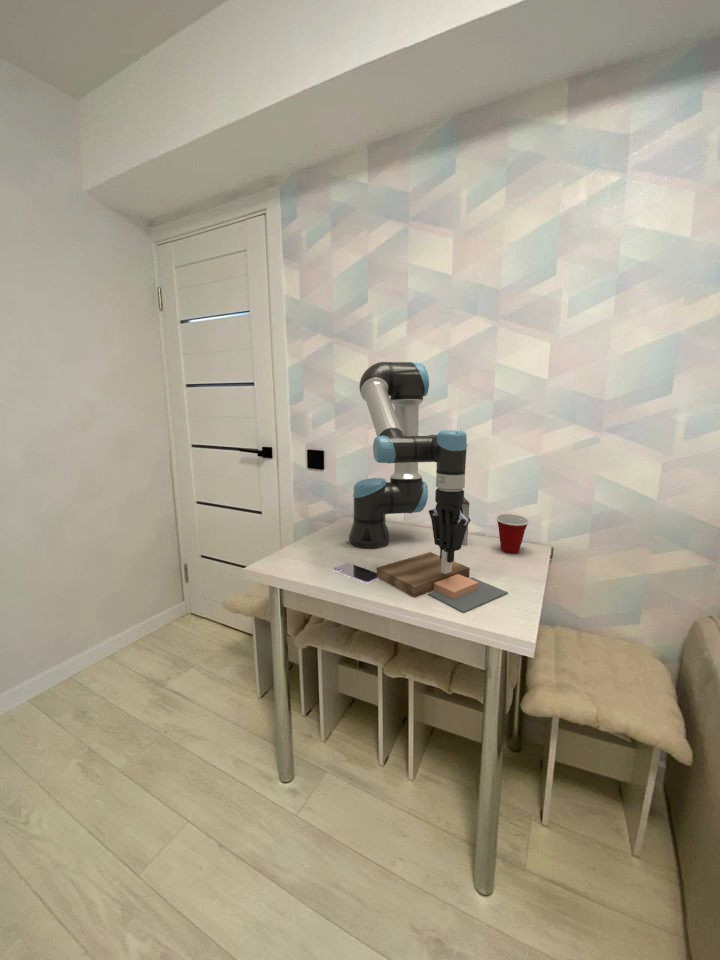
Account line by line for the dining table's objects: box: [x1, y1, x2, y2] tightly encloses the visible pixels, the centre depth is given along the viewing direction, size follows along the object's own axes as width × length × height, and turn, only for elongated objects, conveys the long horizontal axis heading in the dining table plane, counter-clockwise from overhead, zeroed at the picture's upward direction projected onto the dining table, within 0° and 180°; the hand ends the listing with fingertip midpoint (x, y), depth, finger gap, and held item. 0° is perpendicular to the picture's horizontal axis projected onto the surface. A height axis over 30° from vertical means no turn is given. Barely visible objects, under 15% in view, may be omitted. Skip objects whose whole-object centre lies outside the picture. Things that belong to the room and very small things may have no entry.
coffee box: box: [458, 497, 470, 546], centre depth 150 cm, size 9×6×16 cm
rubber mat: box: [427, 577, 509, 614], centre depth 108 cm, size 12×18×1 cm, turn 126°
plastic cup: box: [495, 513, 530, 555], centre depth 140 cm, size 11×11×12 cm
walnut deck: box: [376, 551, 471, 598], centre depth 119 cm, size 16×22×3 cm
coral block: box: [434, 574, 478, 599], centre depth 110 cm, size 7×10×2 cm
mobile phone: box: [332, 562, 380, 584], centre depth 122 cm, size 8×1×15 cm
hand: (446, 571), depth 113 cm, fingers closed
